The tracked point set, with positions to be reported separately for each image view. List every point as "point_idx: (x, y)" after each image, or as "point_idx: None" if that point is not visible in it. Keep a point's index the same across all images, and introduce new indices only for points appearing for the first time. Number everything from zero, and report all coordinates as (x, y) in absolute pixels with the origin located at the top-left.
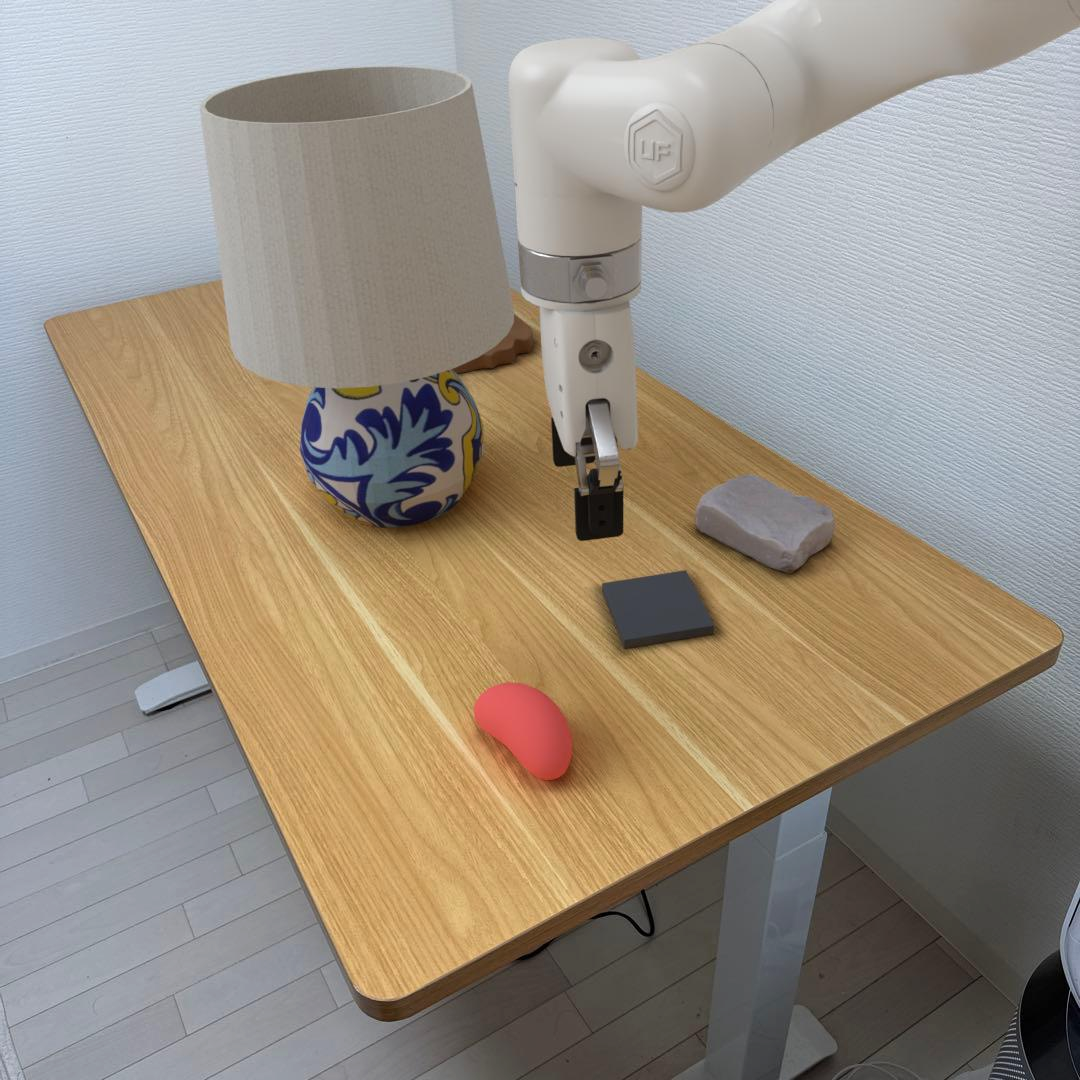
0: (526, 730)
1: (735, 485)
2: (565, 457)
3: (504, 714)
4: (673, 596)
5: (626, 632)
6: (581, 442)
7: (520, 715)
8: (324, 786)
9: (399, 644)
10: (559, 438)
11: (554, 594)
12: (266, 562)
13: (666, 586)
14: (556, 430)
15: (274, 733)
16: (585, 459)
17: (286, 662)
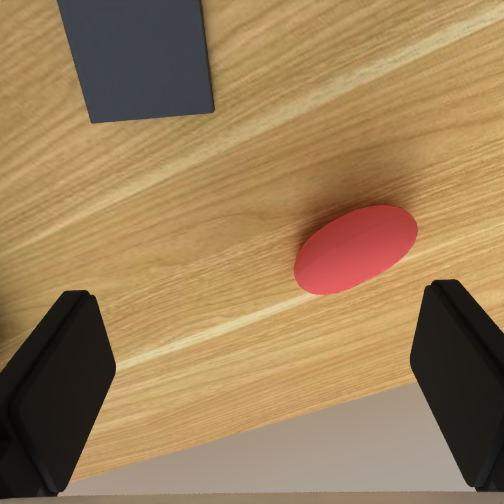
0: (391, 264)
1: None
2: (101, 370)
3: (361, 282)
4: (120, 13)
5: (198, 106)
6: (73, 369)
7: (375, 271)
8: (343, 376)
9: (185, 333)
10: (82, 435)
11: (104, 183)
12: None
13: (95, 20)
14: (72, 467)
15: (280, 406)
16: (95, 319)
17: (200, 405)
